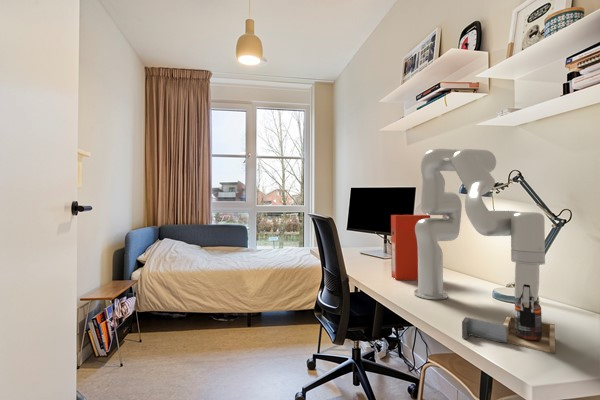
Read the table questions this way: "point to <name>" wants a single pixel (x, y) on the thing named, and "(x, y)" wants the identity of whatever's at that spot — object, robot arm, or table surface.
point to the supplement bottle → (524, 330)
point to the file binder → (404, 246)
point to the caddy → (542, 344)
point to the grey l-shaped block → (484, 329)
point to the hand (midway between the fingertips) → (528, 321)
